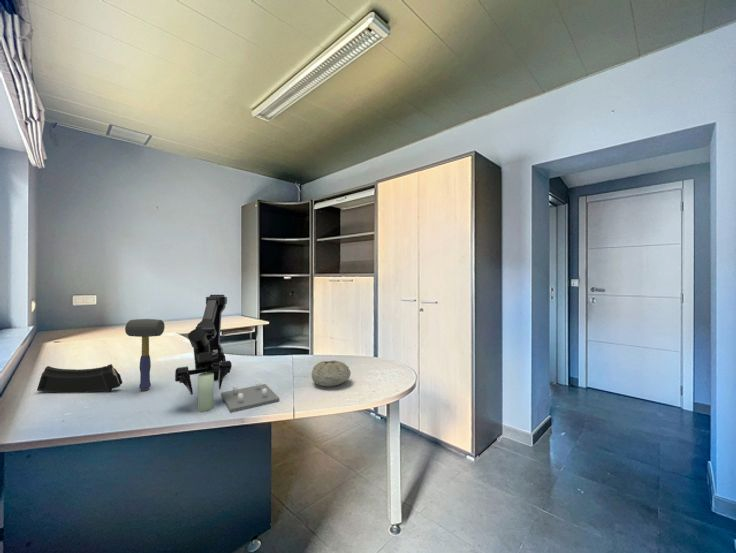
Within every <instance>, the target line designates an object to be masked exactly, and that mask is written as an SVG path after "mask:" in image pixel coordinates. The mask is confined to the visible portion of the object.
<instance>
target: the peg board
mask: <svg viewBox="0 0 736 553" xmlns="http://www.w3.org/2000/svg"><path fill="white" fill-rule="evenodd" d="M238 387H239V386H238V385H234V386H232V390H228V391H222V392H220V396H222V397H221V398H222V400H223V402H224V403H226V404H225V405H227V406H226V407H227V410H228V411H229V413H235V412H239V410H240V411H243V409H244V410H248V409H252V408H256V407H260V406H266V405H269V403H270V404H274V403H279V402H280V397H279V396H278V395H277V394H276V393H275V392H274V391H273V390H272V389H271V388H270V386H268V385H267V384H266V383H264V384H261V381H256V382H255V385H254V386H248V387H243V388H238ZM234 411H235V412H234Z"/></svg>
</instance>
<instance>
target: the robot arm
mask: <svg viewBox="0 0 736 553" xmlns="http://www.w3.org/2000/svg"><path fill="white" fill-rule="evenodd" d="M227 303H228V297H227V296H225V294H210V295H209V296H206V297H205V309H204V312H203V317H202V319H201V321H200V322H199V323H197V325H196V327H195V328H194V329H192V330H191V331H190V332H189V333H188V335H187V338H188V340H189V343H190V345H191V347H192V348H193V357H194V368H193V369H189V366H187V365H186V366H181V367H177V368H176V369H175V371H174V382H176V383H177V382H179V384H183V385H184V386H185V387H186V388H187V391H188V392H189V394H190V395H193V394H194V393H193V392H194V391H193V390H194V389H193V385H192V380H191V375H199V374H202V373H208V372H211V373H214V381H217V380H218V389H219V390H221V388H222V385H223V384H222V383H223V380H224V377H225V376H227V375H228V374H229V373H230V372H231V370H232V368H233V367H232V361H231V360H226V354H225V352H224V348H223V347H222V345H221V329H222V326H221V325H222V313H223V312H224V311H225V309H226V306H227Z"/></svg>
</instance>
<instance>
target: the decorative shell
mask: <svg viewBox="0 0 736 553" xmlns="http://www.w3.org/2000/svg"><path fill="white" fill-rule="evenodd" d="M351 374H352V373H351V370H350V368H349V366H348V365H347V364H346V363H345V362H341V361H339V360H323V361H322V360H321V361H320V362H317V363H316V364H315V365H314V366H313V368H312V370H311V379H312V381H313V382H314V384H316V385H319V386H322V387H336V386H338V385H341V384H343V383H344V382H347V381H348V380H349V379H350V377H351Z"/></svg>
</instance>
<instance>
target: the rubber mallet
mask: <svg viewBox="0 0 736 553" xmlns="http://www.w3.org/2000/svg"><path fill="white" fill-rule="evenodd" d="M124 331H125V334H126V335H127V336H129V337H136V338H137V337H140V338H141V356H140V359H139V373H140V378H139V379H140V380H139V385H138V388H139V389H140V391H148V390H150V389H151V387H152V386H151V385H152V383H151V380H150V379H151V367H152V365H151V364H152V363H151V362H152V361H151V356H150V337H159V336H162V335H163V333H164V331H165V323H164V321H163V320H162V319H157V318H155V319H153V318H138V319H137V318H135V319H130V320H128V321H127V322H126V324H125V328H124Z"/></svg>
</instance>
